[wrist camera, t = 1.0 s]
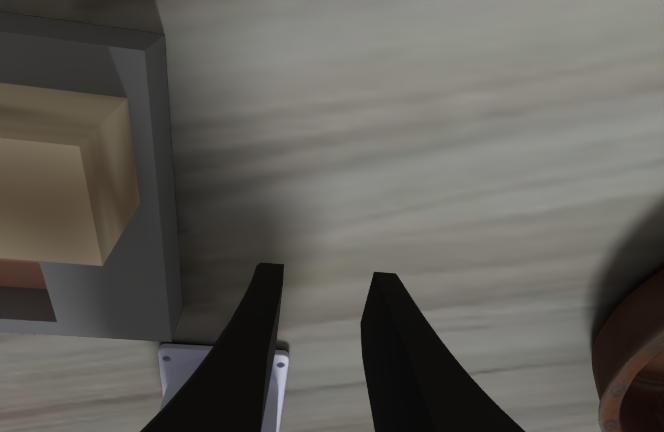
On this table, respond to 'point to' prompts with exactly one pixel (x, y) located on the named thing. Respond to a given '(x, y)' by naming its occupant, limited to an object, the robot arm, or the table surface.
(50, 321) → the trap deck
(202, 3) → the table surface
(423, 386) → the robot arm
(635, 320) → the dish
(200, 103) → the table surface
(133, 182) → the maple block
